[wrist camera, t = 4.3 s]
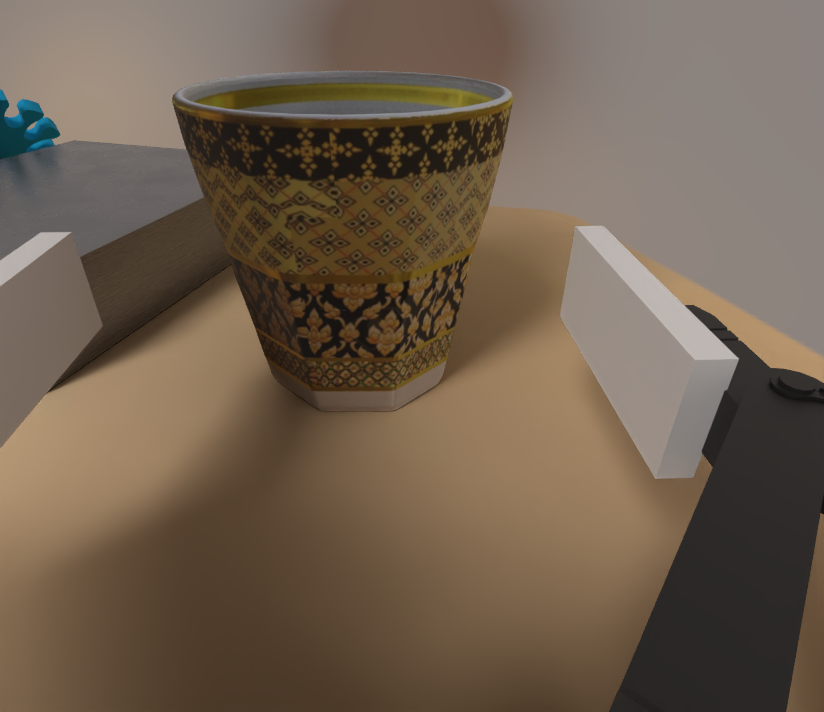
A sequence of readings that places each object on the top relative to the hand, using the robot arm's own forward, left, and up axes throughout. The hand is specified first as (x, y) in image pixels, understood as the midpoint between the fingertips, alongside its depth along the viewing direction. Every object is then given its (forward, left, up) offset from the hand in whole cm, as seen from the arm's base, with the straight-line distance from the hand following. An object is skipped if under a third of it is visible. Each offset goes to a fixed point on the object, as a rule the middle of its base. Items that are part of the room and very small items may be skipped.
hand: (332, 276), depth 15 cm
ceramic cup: (-2, +5, -6) cm, 8 cm away
